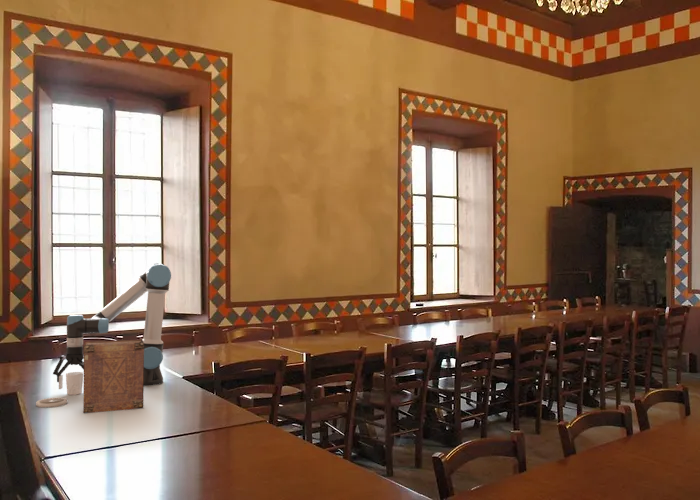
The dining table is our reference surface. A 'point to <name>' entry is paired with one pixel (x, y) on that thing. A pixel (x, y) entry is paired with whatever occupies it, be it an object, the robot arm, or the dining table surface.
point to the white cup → (74, 383)
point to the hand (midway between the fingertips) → (74, 388)
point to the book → (113, 375)
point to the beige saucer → (51, 402)
